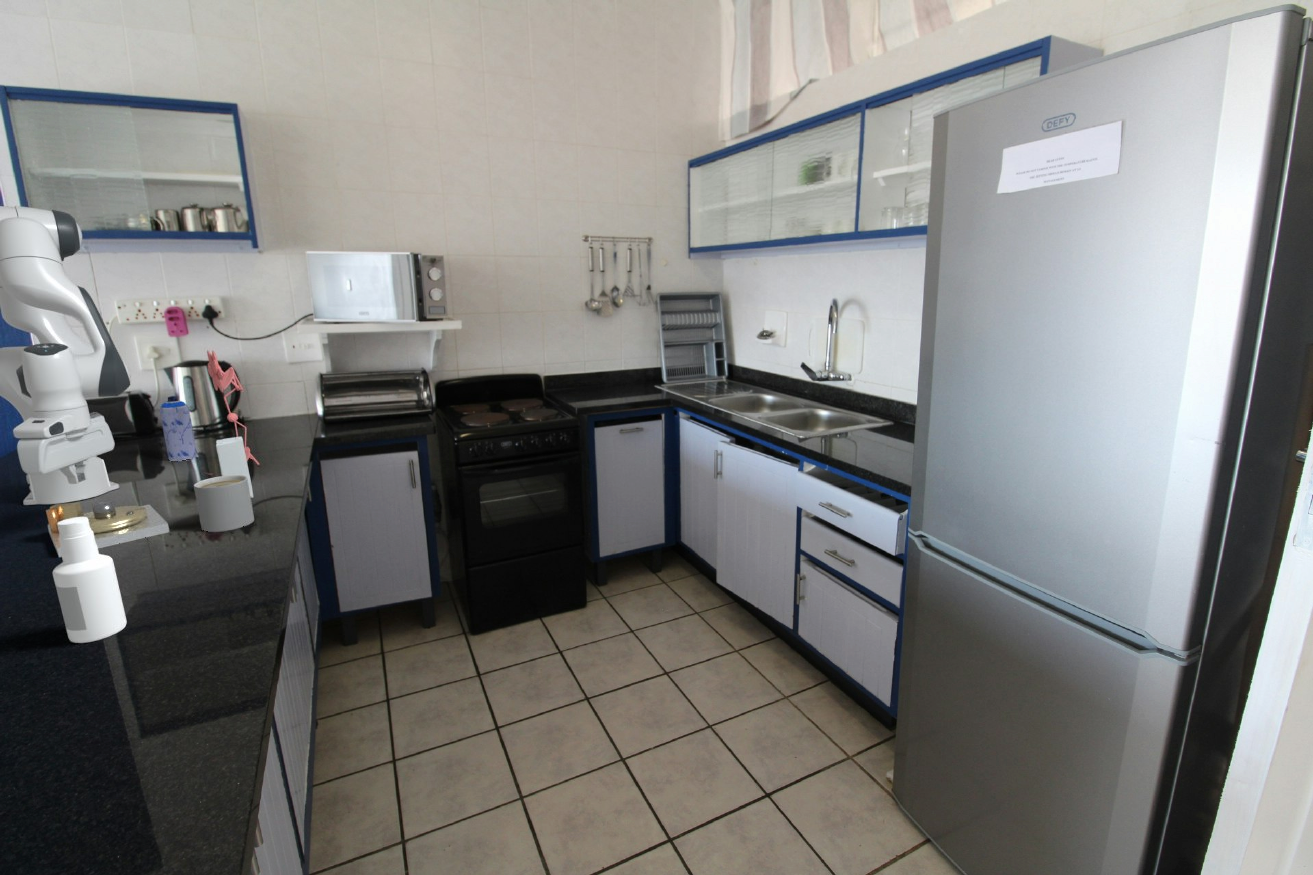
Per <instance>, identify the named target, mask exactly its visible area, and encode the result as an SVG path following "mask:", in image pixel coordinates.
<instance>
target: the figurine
mask: <svg viewBox="0 0 1313 875" xmlns="http://www.w3.org/2000/svg"><path fill="white" fill-rule="evenodd" d="M206 355H207V358H208V359H207V360H208V363H207V372H208V374H209V376H210V378H211V380H212V383H213V386H214V389H215V391H218V389H219V391H220V392H221V393H224V390H226V388H228V387H229V385H230V384H232V385H233V386H234V387H235V388H233V389H232V390H230V391H229V392H228V393H226V394H225V395H224V396H223V400H224V402H225V405H226V408H227V411H228V414H227V416H226V417H227V420H228V421H229V422H231V423H234V428H235V434H236V437H239V434H238V429H237V428H238V427H237V424H238V425H239V426H241V427H243V428H244V449H245V454H246V459H247V462H248V461H249V459H250V460H251V459H252V460H253V461H254V462H255V464H257V466H259V465H260V463H259V461H258V460H257V459H256V458H255V456H254V455H252V454H251V449H250V448H249V447H250V446H247V426H245V425H243V424H242V423H240V422H239V421H238V419H239V417H238V416H239V415H238V414H237V413H235V412H231V410H230V406H229V402H228V401H227V397H228V396H229V395H231V394H232V393H233V392H234V391H237V392H238V391H240V392H242V393H243V392H244V389H243V387H242V384H241V382H240V381H239V379H238V377H237V374H236V373H235V369H234V367H233V366H230V367H229V368H228V369H227V370H225V372H224V370H222V367H221V365H219V362H218V361H219V360H218V358H217V354H216V353H215V351H214V350H212V351H211V352H210V351H209V350H207V351H206ZM202 468H203V469H204V468H205V467H202ZM201 472H202V473H204V474H207V475H212V473H211V472H210V473H209V472H204V471H202V470H201Z"/></svg>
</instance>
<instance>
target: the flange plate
mask: <svg viewBox="0 0 1313 875" xmlns="http://www.w3.org/2000/svg"><path fill="white" fill-rule="evenodd" d="M141 506H142V505H140V506H139V505H122V506H115V501H102V502H101V501H100V502H97V503H95V504H92V505H91V507H92V508H91V509H92V511H89V512H84V513H83V509H82V505H81V501H74V502H65V503H57V504H52V505H51V506H50V507H49V509H54V508H55V509H56V510H57V514H58V518H59V522H60V521H63V520H66V519H70V518H75V517H87V518H88V520H89V525H90V528H91V530H92V531H93V533H101V532H107V531H112V530H116V529H120V528H124V527H127V526H130V525H133V524H136V523H138V522H141V521H143V520H144V519H146V518H147V511H146V508H145V507H141Z"/></svg>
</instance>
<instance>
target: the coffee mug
mask: <svg viewBox="0 0 1313 875" xmlns="http://www.w3.org/2000/svg"><path fill="white" fill-rule="evenodd" d="M193 490H194V496H195V501H196V506H197V511H198V517H199V522H200V526H201V530H202V531H203V530H204V531H203V532H206V531H208V532H207V533H220V532H229V531H233V530H237V529H241V528H243V526H244V527H246V526H249V525H250V524H252V523H253V522H255V516H254V510H253V504H252V498H251V497H250V491H249V485H248V479H247V477H246V476H243V475H228V476H222V475H221V476H215V477H211V478H207V479H202V480H200V481H198V482H196V483H194V484H193Z"/></svg>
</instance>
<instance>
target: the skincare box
mask: <svg viewBox="0 0 1313 875" xmlns="http://www.w3.org/2000/svg"><path fill="white" fill-rule="evenodd" d="M215 441H216V442H215V443H216V444H215V447H216V448H215V450H216V453H217V456H218V457H217V460H218V463H219V464H218V465H219V469H220V475H221V476H228V475H243V476H246V477H247V479H248V485H249V491H250V497H251V499H252V498H254V492H253V486H252V485H253V484H252V481H251V476H250V471H249V466H248V461H247V459H246V454H245V449H244V448H245V443H244V439H243V437H242V436H238V437H237V436H236V437H235V436H234V437H228V438H222V439H221V438H220V439H216V440H215Z"/></svg>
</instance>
